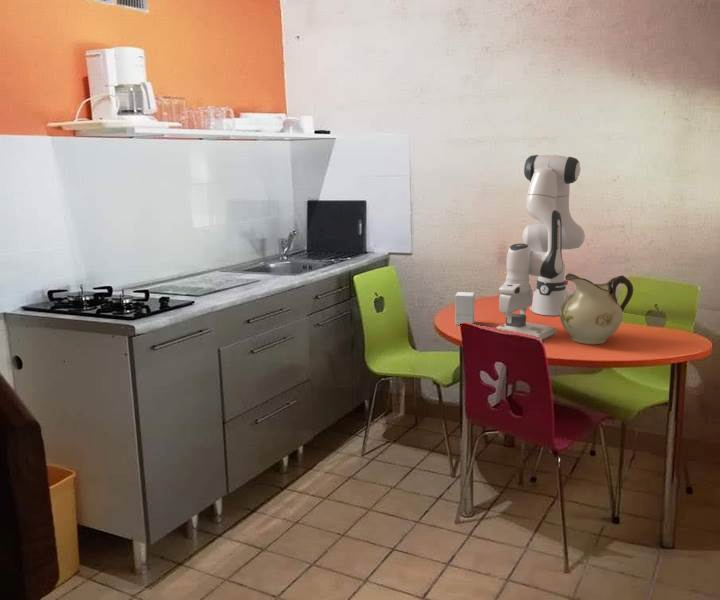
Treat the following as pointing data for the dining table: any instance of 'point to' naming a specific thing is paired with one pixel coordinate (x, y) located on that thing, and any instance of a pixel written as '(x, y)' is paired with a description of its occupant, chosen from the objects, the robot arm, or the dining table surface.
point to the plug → (517, 320)
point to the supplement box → (464, 307)
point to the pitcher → (593, 309)
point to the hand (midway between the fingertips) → (515, 320)
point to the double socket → (532, 330)
